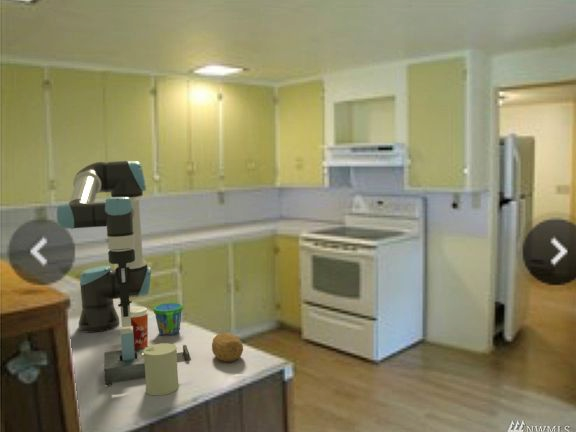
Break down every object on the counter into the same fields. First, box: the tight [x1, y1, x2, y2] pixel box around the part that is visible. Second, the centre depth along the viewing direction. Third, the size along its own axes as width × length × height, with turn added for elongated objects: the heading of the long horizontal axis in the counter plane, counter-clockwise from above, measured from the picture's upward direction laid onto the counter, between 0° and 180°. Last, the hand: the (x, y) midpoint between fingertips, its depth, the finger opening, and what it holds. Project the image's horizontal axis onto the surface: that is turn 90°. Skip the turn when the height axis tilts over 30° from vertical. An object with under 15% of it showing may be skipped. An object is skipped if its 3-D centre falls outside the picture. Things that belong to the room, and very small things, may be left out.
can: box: [143, 342, 180, 396], centre depth 144 cm, size 9×9×12 cm
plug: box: [119, 326, 135, 361], centre depth 155 cm, size 4×4×14 cm
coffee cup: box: [130, 306, 149, 348], centre depth 171 cm, size 8×8×15 cm
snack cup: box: [153, 302, 184, 337], centre depth 191 cm, size 16×10×10 cm
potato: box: [211, 332, 244, 363], centre depth 163 cm, size 10×14×8 cm
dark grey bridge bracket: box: [177, 344, 192, 363], centre depth 165 cm, size 8×8×3 cm
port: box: [103, 345, 150, 387], centre depth 155 cm, size 14×14×5 cm
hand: (126, 325), depth 154 cm, fingers closed
